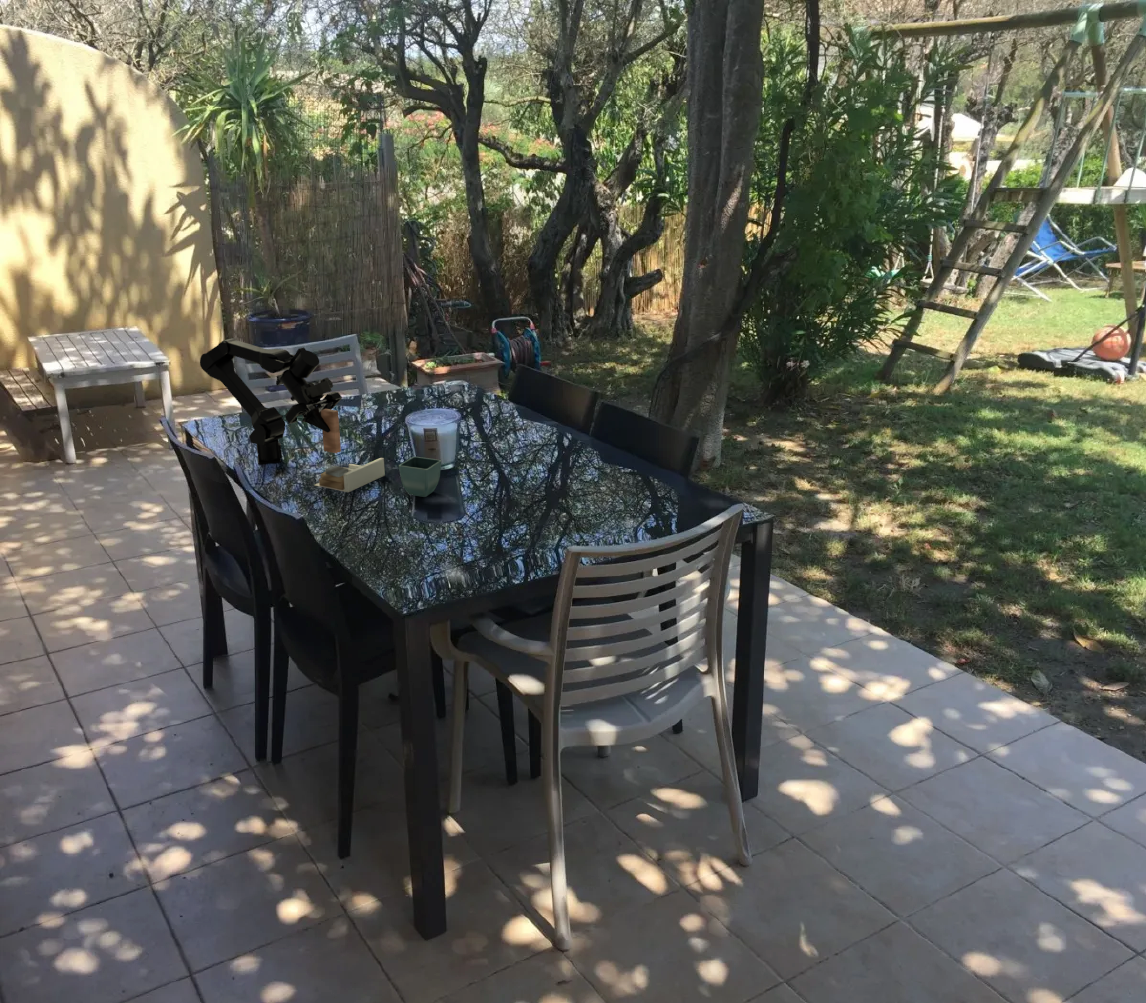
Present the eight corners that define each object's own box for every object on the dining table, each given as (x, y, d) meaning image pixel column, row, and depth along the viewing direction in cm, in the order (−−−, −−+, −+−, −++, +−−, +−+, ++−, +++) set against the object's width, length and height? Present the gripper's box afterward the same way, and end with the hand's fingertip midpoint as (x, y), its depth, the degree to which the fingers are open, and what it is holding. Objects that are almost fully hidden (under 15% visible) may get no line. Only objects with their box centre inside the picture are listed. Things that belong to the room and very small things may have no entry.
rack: (314, 488, 273) (312, 467, 271) (351, 471, 287) (350, 452, 284) (348, 495, 268) (346, 474, 266) (384, 478, 282) (383, 458, 279)
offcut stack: (319, 485, 273) (317, 468, 271) (332, 479, 277) (330, 463, 276) (342, 490, 269) (340, 473, 268) (354, 484, 274) (353, 467, 272)
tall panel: (324, 450, 283) (320, 410, 279) (328, 448, 285) (325, 408, 280) (336, 453, 281) (333, 412, 277) (340, 451, 283) (337, 410, 278)
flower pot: (443, 490, 273) (442, 459, 270) (428, 501, 265) (427, 469, 262) (414, 486, 276) (413, 456, 272) (399, 497, 268) (397, 465, 265)
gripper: (289, 377, 269) (324, 422, 268) (334, 364, 285) (367, 406, 284) (270, 401, 275) (304, 445, 274) (315, 387, 291) (347, 428, 290)
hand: (332, 430), depth 280 cm, fingers closed on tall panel, 2 cm apart
